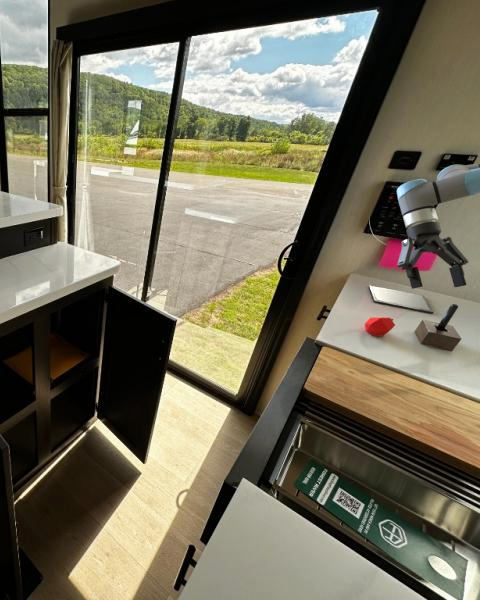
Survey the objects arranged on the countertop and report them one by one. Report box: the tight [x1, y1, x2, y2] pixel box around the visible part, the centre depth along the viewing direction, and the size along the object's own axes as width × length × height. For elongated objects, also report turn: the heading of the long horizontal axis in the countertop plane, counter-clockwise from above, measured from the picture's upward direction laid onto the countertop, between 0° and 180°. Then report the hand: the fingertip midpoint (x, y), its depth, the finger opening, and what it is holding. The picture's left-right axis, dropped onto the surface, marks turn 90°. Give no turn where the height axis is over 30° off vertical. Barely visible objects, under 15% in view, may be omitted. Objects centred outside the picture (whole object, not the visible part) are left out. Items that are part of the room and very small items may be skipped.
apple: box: [364, 316, 396, 337], centre depth 105 cm, size 7×7×8 cm
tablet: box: [368, 285, 435, 315], centre depth 123 cm, size 17×13×1 cm
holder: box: [414, 319, 462, 352], centre depth 101 cm, size 7×7×5 cm
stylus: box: [436, 303, 459, 331], centre depth 100 cm, size 2×2×14 cm
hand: (438, 287), depth 101 cm, fingers open, 13 cm apart
